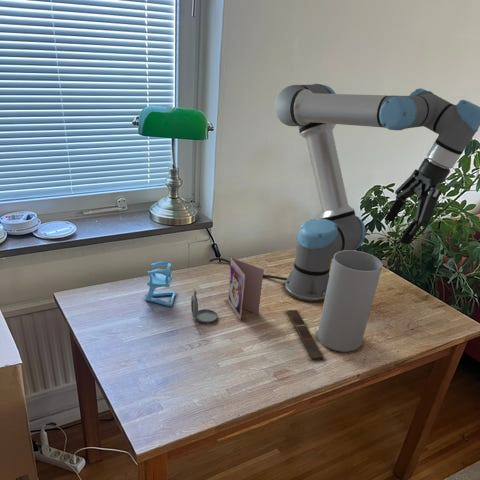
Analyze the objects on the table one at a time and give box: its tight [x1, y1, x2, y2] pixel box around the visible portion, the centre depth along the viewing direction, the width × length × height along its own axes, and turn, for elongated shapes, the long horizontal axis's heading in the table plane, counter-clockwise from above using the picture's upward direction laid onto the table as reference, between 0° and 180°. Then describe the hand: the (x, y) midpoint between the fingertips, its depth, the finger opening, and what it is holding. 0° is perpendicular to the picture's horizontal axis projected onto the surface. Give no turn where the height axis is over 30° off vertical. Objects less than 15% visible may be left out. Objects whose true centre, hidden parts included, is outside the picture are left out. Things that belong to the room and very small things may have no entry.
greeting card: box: [227, 257, 265, 321], centre depth 140 cm, size 11×7×15 cm, turn 21°
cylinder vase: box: [317, 250, 384, 353], centre depth 128 cm, size 12×12×25 cm
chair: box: [145, 261, 176, 307], centre depth 142 cm, size 8×8×12 cm
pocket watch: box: [190, 287, 218, 324], centre depth 136 cm, size 8×8×10 cm
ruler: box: [286, 309, 324, 361], centre depth 135 cm, size 24×3×1 cm, turn 11°
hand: (395, 231), depth 138 cm, fingers open, 13 cm apart
